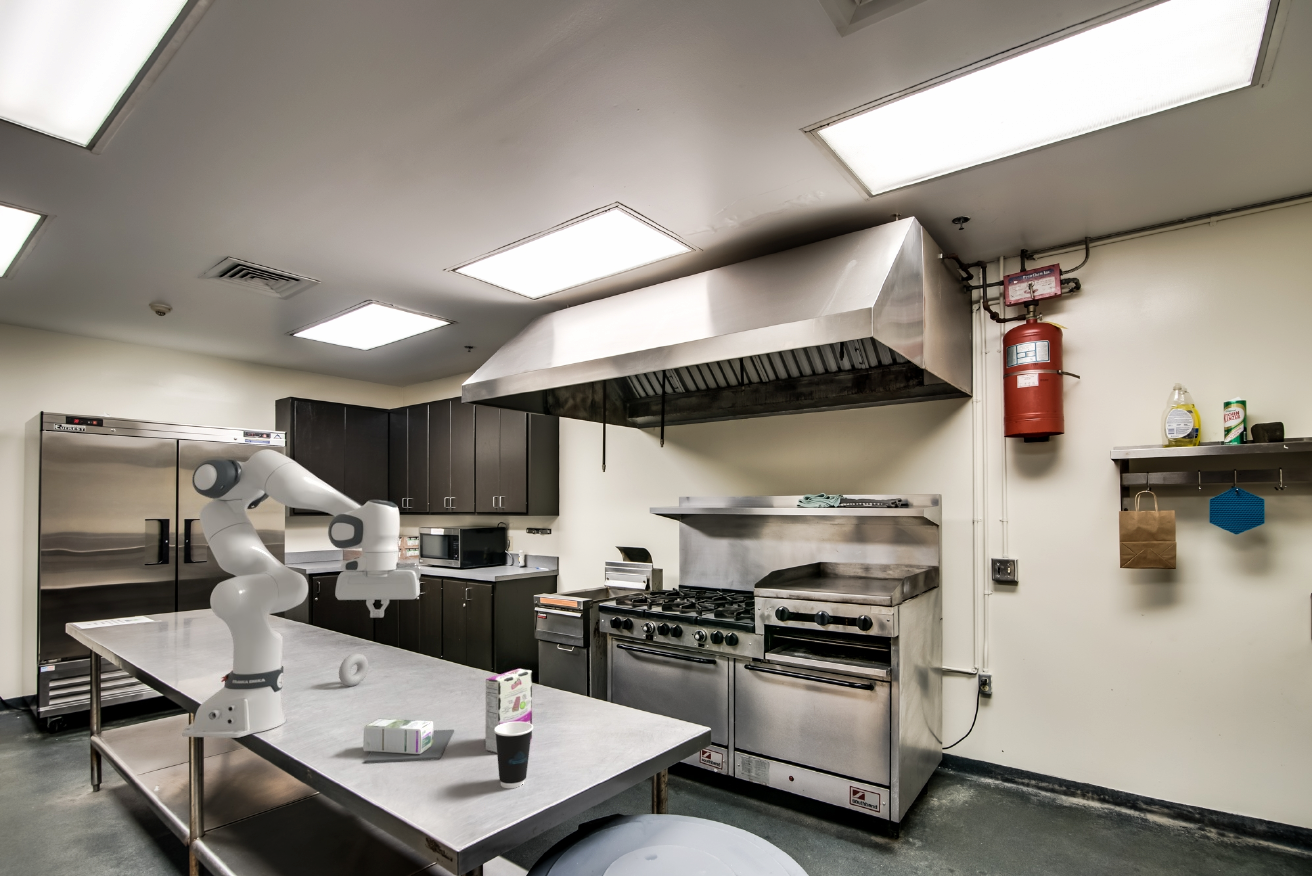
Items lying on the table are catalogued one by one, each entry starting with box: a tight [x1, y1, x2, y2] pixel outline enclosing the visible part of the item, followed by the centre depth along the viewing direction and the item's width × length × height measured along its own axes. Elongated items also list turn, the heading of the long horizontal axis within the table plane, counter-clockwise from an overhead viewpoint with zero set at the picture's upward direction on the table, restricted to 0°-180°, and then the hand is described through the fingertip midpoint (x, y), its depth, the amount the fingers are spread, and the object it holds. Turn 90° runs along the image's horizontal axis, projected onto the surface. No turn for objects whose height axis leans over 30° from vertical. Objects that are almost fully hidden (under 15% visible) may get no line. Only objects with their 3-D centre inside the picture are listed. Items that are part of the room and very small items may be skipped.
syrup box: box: [362, 718, 434, 754], centre depth 150 cm, size 6×6×14 cm
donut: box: [338, 652, 369, 687], centre depth 206 cm, size 10×3×10 cm, turn 152°
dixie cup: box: [494, 722, 534, 789], centre depth 133 cm, size 8×8×11 cm
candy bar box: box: [484, 668, 533, 754], centre depth 155 cm, size 11×5×16 cm, turn 148°
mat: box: [364, 729, 455, 764], centre depth 153 cm, size 16×18×1 cm
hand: (377, 617), depth 167 cm, fingers closed
